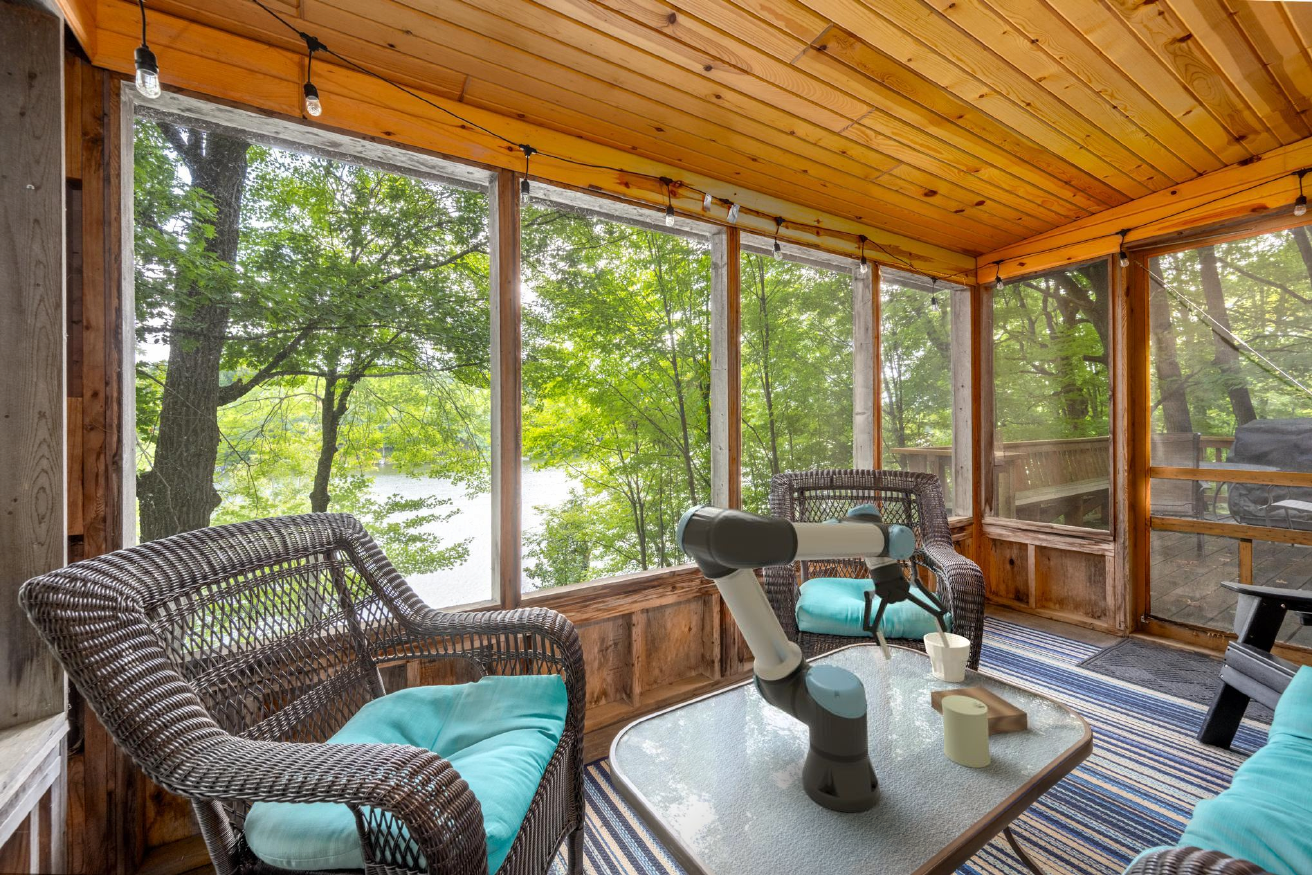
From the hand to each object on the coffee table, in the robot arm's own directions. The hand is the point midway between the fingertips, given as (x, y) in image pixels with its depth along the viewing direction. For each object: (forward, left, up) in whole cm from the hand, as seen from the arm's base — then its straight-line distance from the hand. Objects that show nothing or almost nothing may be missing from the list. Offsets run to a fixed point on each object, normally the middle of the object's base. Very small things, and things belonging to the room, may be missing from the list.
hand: (917, 653), depth 128 cm
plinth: (+20, +7, -21) cm, 30 cm away
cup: (+29, +30, -21) cm, 47 cm away
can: (+6, -7, -21) cm, 23 cm away
